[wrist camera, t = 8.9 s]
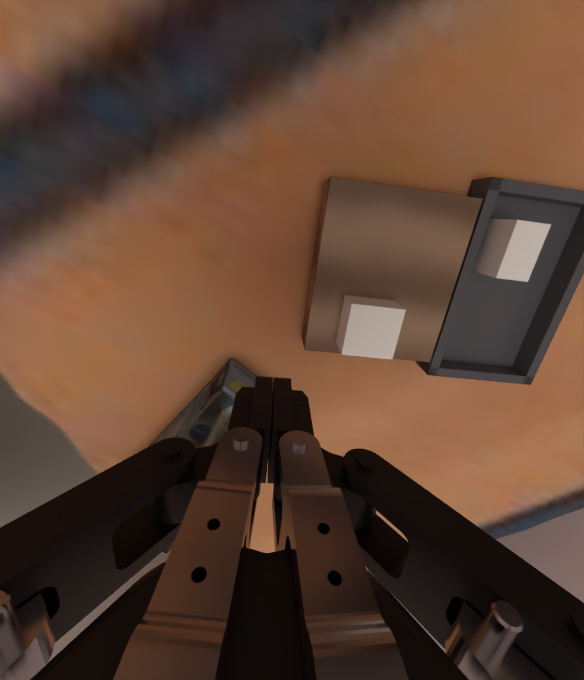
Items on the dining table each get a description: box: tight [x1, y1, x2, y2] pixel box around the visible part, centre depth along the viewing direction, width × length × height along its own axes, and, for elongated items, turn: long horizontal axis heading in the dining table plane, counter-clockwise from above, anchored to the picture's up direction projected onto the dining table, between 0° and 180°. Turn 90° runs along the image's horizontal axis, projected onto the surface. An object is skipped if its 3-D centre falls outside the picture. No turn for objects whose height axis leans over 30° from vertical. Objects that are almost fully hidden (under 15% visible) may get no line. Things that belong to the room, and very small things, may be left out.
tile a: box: [472, 219, 551, 282], centre depth 24 cm, size 4×4×2 cm
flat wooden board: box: [302, 177, 483, 362], centre depth 25 cm, size 13×11×3 cm
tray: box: [416, 177, 584, 385], centre depth 27 cm, size 16×10×2 cm, turn 173°
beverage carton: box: [125, 359, 273, 553], centre depth 30 cm, size 8×19×7 cm, turn 138°
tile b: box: [336, 295, 406, 359], centre depth 24 cm, size 4×4×2 cm
